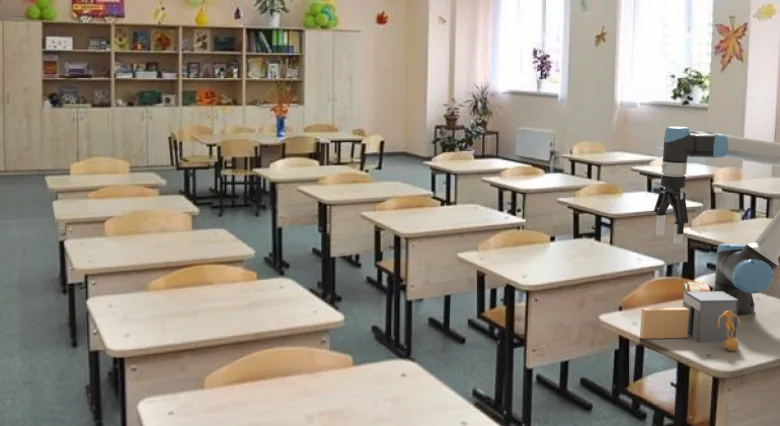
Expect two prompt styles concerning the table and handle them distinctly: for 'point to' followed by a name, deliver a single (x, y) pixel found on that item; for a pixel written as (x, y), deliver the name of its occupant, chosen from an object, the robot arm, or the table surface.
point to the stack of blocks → (694, 288)
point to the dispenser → (709, 315)
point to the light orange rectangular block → (664, 322)
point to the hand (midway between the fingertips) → (668, 239)
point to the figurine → (729, 343)
